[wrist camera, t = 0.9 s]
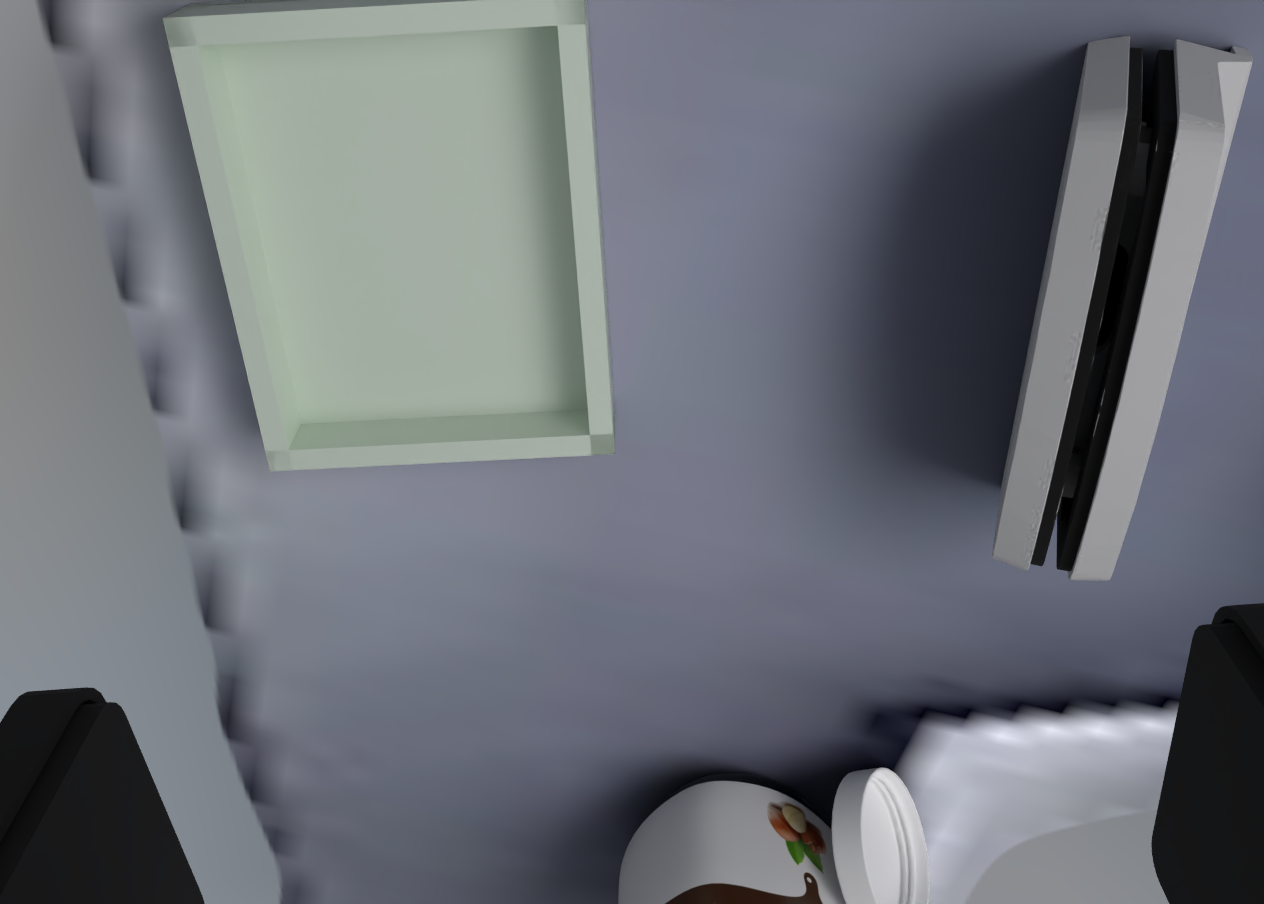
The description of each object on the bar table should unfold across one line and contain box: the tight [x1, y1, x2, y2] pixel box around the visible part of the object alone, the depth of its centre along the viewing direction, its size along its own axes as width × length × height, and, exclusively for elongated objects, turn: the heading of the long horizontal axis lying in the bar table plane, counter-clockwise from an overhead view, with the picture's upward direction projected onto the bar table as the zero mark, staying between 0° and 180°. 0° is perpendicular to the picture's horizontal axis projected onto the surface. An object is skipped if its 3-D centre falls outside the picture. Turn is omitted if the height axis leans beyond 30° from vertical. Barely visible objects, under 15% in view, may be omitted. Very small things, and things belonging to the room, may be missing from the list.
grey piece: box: [992, 36, 1253, 581], centre depth 37 cm, size 17×5×10 cm, turn 179°
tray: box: [162, 0, 615, 471], centre depth 38 cm, size 15×12×2 cm
